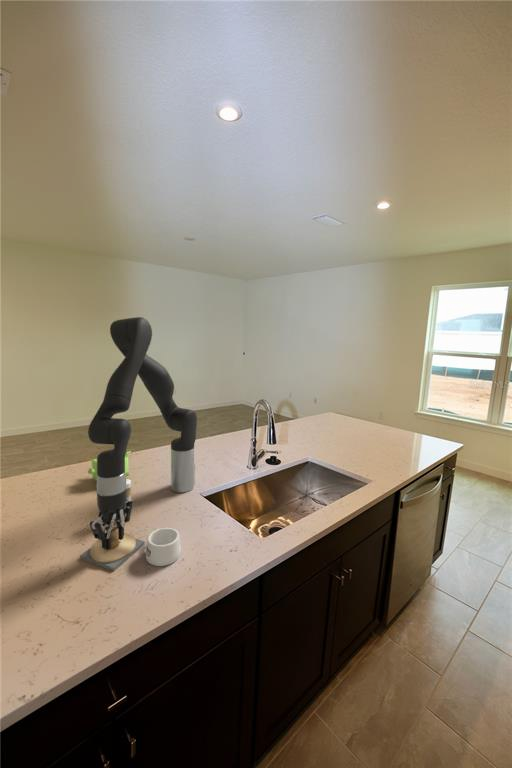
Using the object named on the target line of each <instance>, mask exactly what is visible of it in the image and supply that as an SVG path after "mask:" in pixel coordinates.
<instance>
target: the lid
mask: <svg viewBox="0 0 512 768" xmlns="http://www.w3.org/2000/svg"><path fill="white" fill-rule="evenodd" d="M110 537H111V548H110V549H109V550H106V549H104V548H102V540H99V539H97V540H96V541H95V542H93V544H92V545H91V546H90V548H91V549H90V548H89V549H90V556H91V558H92V559H93V560H94V561H96V562H100V563H110V562H115V561H118V560H121V559H123V558H125V557H127V556H128V555H129V554H131V553H132V551H133V550H134V549H135V546H136V540H135V538H136V537H134V536H133V535H132V534H130V533H126V532H124V536H123V539H122V540H119V535H118V527H116V526H113V529H112V530H111V533H110Z"/></svg>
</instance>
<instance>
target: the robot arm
mask: <svg viewBox="0 0 512 768" xmlns="http://www.w3.org/2000/svg"><path fill="white" fill-rule="evenodd" d="M109 333H110V337H111V339H112V342H113V343H114V345H115V347H116V348H117V349H118V351H120V353H121V354H122V356H124V359H123V360H122V361H121V363H120V364H119V365H118V366H117V368H115V370H114V372H113V373H112V374H111V376H110V378H109V379H108V382H107V385H106V388H105V393H104V395H103V396H104V397H103V401H102V403H101V404H100V407H99V408H98V410H97V412H96V413H95V414H94V416H93V418H92V420H91V421H90V423H89V425H88V430H87V433H88V434H87V435H88V439H89V440H90V441H91V442H92V443H93V444H97V445H113V446H114V447H113V449H108V450H104V451H102V452H101V451H100V453H98V455H97V457H96V459H97V480H96V501H97V505H96V506H97V508H98V510H99V512H98V516H97V518H96V519H95V521H93V520H92V521H90V522H89V527H90V530H91V532H92V534H93V538H94V539H97V540H102V548H104V549H106V550H109V549H110V548H111V537H110V533H111V530H112V529H113V527H114V525H116V526H115V527H118V535H119V540H122V539H123V536H124V533H125V527H126V524H127V523H129V522H130V520H131V519H130V515H131V516H132V509H133V503H134V502H133V501H132V500H131V501H128V500H127V495H126V479H127V476H126V475H125V454H126V453H127V449H128V444H129V441H130V439H131V438H130V437H131V434H132V427H131V424H130V422H129V421H128V420H127V419H125V418H113V417H114V416H115V415H117V414H121V413H126V412H127V411H128V410H129V409H130V406H131V401H132V398H133V397H132V396H133V392H134V388H135V384H136V380H137V378H138V377H139V378H140V380H141V382H142V383H143V385H144V386H145V389H146V390H147V392H148V393H149V395H150V396H151V397H152V399H153V400H154V403H155V404H156V406H157V407H158V409H159V411H160V413H161V415H162V418H163V420H164V422H165V424H166V425H167V427H168V428H169V429H170V430H172V431H176V432H180V437H177V438H176V437H175V438H174V439H172V440H171V443H170V489H171V491H173V492H175V493H188V492H190V491H192V490H193V489H194V487H195V486H194V485H196V484H195V480H196V479H195V478H196V477H195V473H196V471H195V470H196V465H195V464H196V463H195V442H196V441H197V440H196V439H197V428H198V426H197V425H198V417H197V413H196V412H195V411H194V410H193V409H189V408H183V407H179V406H178V405H177V404H176V402H175V401H174V399H173V396H174V392H175V383H174V380H173V378H172V377H171V375H170V373H169V371H168V370H167V368H166V367H165V366H163V365H162V364H161V363H159V362H158V361H157V360H155V359H153V358H152V357H151V356H149V355H148V354H147V353H148V350H149V347H150V345H151V342H152V339H153V330H152V325H151V324H150V322H149V320H147V319H146V318H144V317H141V316H140V317H139V316H138V317H137V316H136V317H130V318H129V317H128V318H122V319H117V320H114V321H113V322H112V323H111V324H110V328H109ZM125 513H126V514H127V515H126V517H125Z"/></svg>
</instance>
